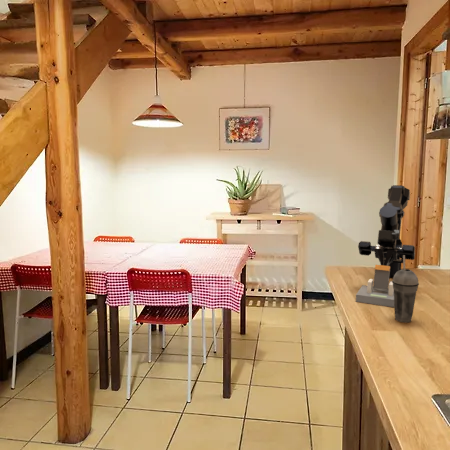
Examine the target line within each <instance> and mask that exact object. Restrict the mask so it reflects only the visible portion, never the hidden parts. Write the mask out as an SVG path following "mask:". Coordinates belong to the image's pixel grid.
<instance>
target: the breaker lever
mask: <svg viewBox="0 0 450 450" xmlns="http://www.w3.org/2000/svg"><path fill="white" fill-rule="evenodd" d="M374 265H375V266H374V275H373V276H374V277H373V288H374V290H377V291H385V292H387V291H388V288H389V283H390V278H389V274H390V266H384V265H381V264H374Z"/></svg>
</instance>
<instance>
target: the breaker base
mask: <svg viewBox="0 0 450 450" xmlns="http://www.w3.org/2000/svg"><path fill="white" fill-rule="evenodd" d="M392 281H393V280H392ZM392 281H391V280H389V284H388V291H387V292H385V291H377V290H374V288H373V285H374V278H369V279H368V281H367V285H365V284H363V285H361V287H360V288H359V289H358V291H357V293H355V302H356V303H362V304H370V305H375V306H383V307H389V308H394V289H393V282H392Z"/></svg>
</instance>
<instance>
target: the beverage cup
mask: <svg viewBox="0 0 450 450" xmlns="http://www.w3.org/2000/svg"><path fill="white" fill-rule="evenodd" d="M402 267H403V268H401V270H399V271H398V272H396V273H395V275H394V277H393V278H392V282H393V289H394V307H393V308H394V309H393V310H394V319H395V321H397V322H400V323H406V324H407V323H411V322H412V319H413V313H414V308H415V307H414V306H415V303H416V302H415V301H416V296H417V291H418V288H419V285H420V284H419V278H418V275H417V274H416V273H415V272H414V271H413V270H411V269H409V268H408V269H407V268H406V259H405V255H403V263H402Z"/></svg>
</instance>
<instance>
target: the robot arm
mask: <svg viewBox="0 0 450 450" xmlns="http://www.w3.org/2000/svg"><path fill="white" fill-rule="evenodd" d="M387 190H388V191H387V199H388V201H387V202H385V203H384V204H383V206H381V208H380V209H379V212H378V215H379V220H380V223H381V229H379V230H378V235H377V244H375V245H372V244H371V243H372V242H371V241H363V240H361V241H359V242H358V245H357V247H358V252H359V255H361V256H370V255H372V252H374V257H375V258H376V259H378V261H379V263H380V264H379V265H384V266H390V274H389V279H391V278H392V279H393V277H394V275H395V273H396V272H398V271H399V270H401V269H402V264H403V255H405V260H410V261H413V260H415V258H416V247H415V245H413V244H403V243H402V242H403V241H402V240H401V238H400V236H401V231H402V230H401V228H402V221H403V220H402V219H403V218H404V216H405V211H404V209H405V208H406V207H407V206H408V202H409V201H410V199H411V191H410V189H409V188H407V187H405V186H404V185H399V184H398V185H397V184H396V185H395V184H394V185H391V187H390V188H388V189H387Z"/></svg>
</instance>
